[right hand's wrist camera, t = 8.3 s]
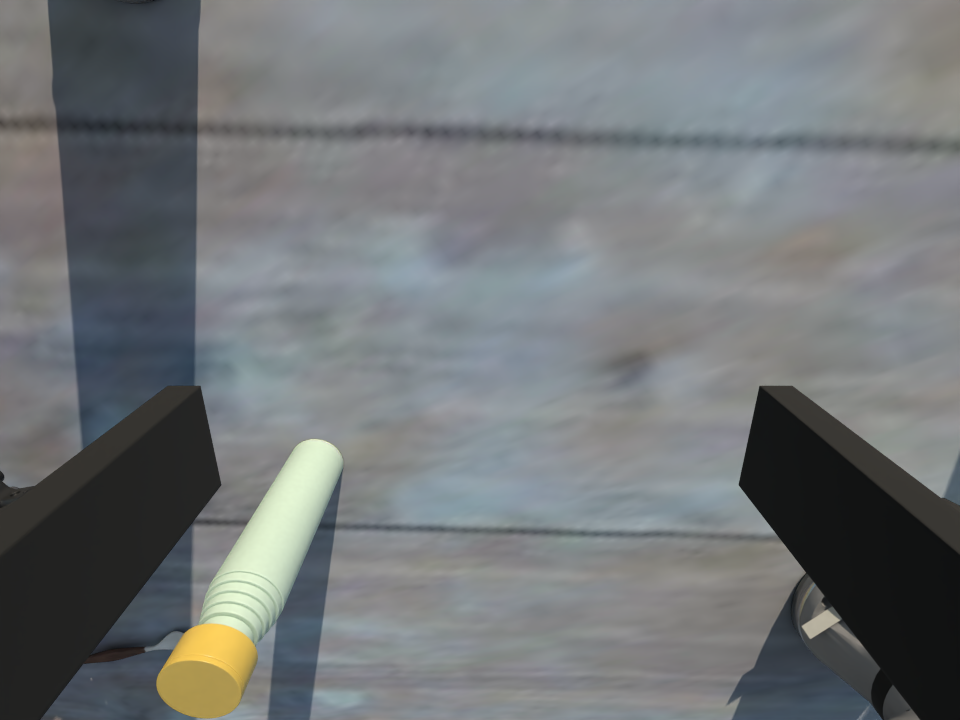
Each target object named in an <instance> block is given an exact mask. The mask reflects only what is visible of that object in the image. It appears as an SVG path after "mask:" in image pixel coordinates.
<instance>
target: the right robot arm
mask: <svg viewBox="0 0 960 720" xmlns="http://www.w3.org/2000/svg"><path fill="white" fill-rule="evenodd" d="M220 486H221V481H220V476H219V472H218V467H217V462H216V457H215V453H214V448H213V443H212V438H211V434H210V429H209V424H208V420H207V415H206V410H205V405H204V401H203V396H202V391H201V386H167V387H166V388H164V389H163V390H162V391H160V392H159V393H158V394H156V395H155V396H154V397H152V398H151V399H150V400H148V401H147V402H146V403H144V404H143V405H142V406H140V407H139V408H138V409H136V410H135V411H134V412H133V413H131V414H130V415H129V416H127V417H126V418H125V419H123V420H122V421H121V422H119V423H118V424H117V425H115V426H114V427H113V428H111V429H110V430H109V431H107V432H106V433H105V434H103V435H102V436H101V437H99V438H98V439H97V440H95V441H94V442H93V443H91V444H90V445H89V446H87V447H86V448H85V449H83V450H82V451H81V452H80V453H78V454H77V455H76V456H74V457H73V458H72V459H70V460H69V461H68V462H66V463H65V464H64V465H62V466H61V467H60V468H58V469H57V470H56V471H54V472H53V473H52V474H50V475H49V476H48V477H46V478H45V479H44V480H42V481H41V482H40V483H38V484H37V485H36V486H34V487H33V488H32V489H31V490H29V491H28V492H27V493H25V494H24V495H23V496H21V497H20V498H19V499H17V500H15V501H13V502H11V503H9V504H8V505H6V506H4V507H2V508H0V720H40V719H41V718H42V717H43V715H44V714H45V713H46V711H47V710H48V709H49V708H50V706H51V705H52V704H53V702H54V701H55V700H56V698H57V697H58V696H59V695H60V693H61V692H62V691H63V689H64V688H65V687H66V685H67V684H68V683H69V682H70V680H71V679H72V678H73V676H74V675H75V674H76V673H77V671H78V670H79V669H80V667H81V666H82V665H83V663H84V662H85V661H86V660H87V658H88V657H89V656H90V654H91V653H92V652H93V651H94V649H95V648H96V647H97V645H98V644H99V643H100V641H101V640H102V639H103V638H104V636H105V635H106V634H107V632H108V631H109V630H110V629H111V627H112V626H113V625H114V623H115V622H116V621H117V619H118V618H119V617H120V616H121V614H122V613H123V612H124V610H125V609H126V608H127V607H128V605H129V604H130V603H131V601H132V600H133V599H134V597H135V596H136V595H137V594H138V592H139V591H140V590H141V588H142V587H143V586H144V585H145V583H146V582H147V581H148V579H149V578H150V577H151V575H152V574H153V573H154V572H155V570H156V569H157V568H158V566H159V565H160V564H161V563H162V561H163V560H164V559H165V557H166V556H167V555H168V553H169V552H170V551H171V550H172V548H173V547H174V546H175V544H176V543H177V542H178V540H179V539H180V538H181V537H182V535H183V534H184V533H185V531H186V530H187V529H188V528H189V526H190V525H191V524H192V522H193V521H194V520H195V518H196V517H197V516H198V515H199V513H200V512H201V511H202V509H203V508H204V507H205V506H206V504H207V503H208V502H209V500H210V499H211V498H212V496H213V495H214V494H215V493H216V491H217V490H218V489H219V487H220ZM739 486H740V487H741V489H742V490H743V491H744V493H745V494H746V495H747V496H748V498H749V499H750V500H751V502H752V503H753V504H754V506H755V507H756V508H757V509H758V511H759V512H760V513H761V515H762V516H763V517H764V518H765V520H766V521H767V522H768V524H769V525H770V526H771V528H772V529H773V530H774V531H775V533H776V534H777V535H778V537H779V538H780V539H781V540H782V542H783V543H784V544H785V546H786V547H787V548H788V550H789V551H790V552H791V553H792V555H793V556H794V557H795V559H796V560H797V561H798V563H799V564H800V565H801V566H802V568H803V569H804V570H805V572H806V573H807V574H806V575H805V576H804V577H803V579H802V580H801V582H800V583H799V585H798V587H797V589H796V591H795V594H794V597H793V600H792V606H791V616H792V621H793V624H794V627H795V629H796V631H797V632H798V634H799V635H800V637H801V639H802V640H803V642H804V643H805V645H806V646H807V647H808V649H809V650H810V651H811V652H812V653H813V654H814V655H815V656H816V657H817V658H818V659H819V660H820V661H821V662H822V663H824V664H825V665H826V666H827V667H828V668H830V669H831V670H832V671H833V672H834V673H835V674H837V675H838V676H839V677H840V678H841V679H843V680H844V681H845V682H846V683H847V684H849V685H850V686H851V687H852V688H853V689H855V690H856V691H857V692H858V693H859V694H861V695H862V696H863V697H864V698H865V699H867V700H868V701H869V702H870V703H871V704H872V706H873V707H874V708H875V710H876V711H877V712H878V714H879V715H880V717H881V718H882V719H883V720H960V506H959V505H957V504H955V503H953V502H951V501H949V500H947V499H945V498H940V497H939V496H937V495H936V494H935V493H933V492H932V491H931V490H929V489H928V488H927V487H926V486H924V485H923V484H922V483H920V482H919V481H918V480H916V479H915V478H914V477H912V476H911V475H910V474H908V473H907V472H906V471H904V470H903V469H902V468H900V467H899V466H898V465H896V464H895V463H894V462H892V461H891V460H890V459H888V458H887V457H886V456H884V455H883V454H882V453H880V452H879V451H878V450H877V449H875V448H874V447H873V446H871V445H870V444H869V443H867V442H866V441H865V440H863V439H862V438H861V437H859V436H858V435H857V434H855V433H854V432H853V431H851V430H850V429H849V428H847V427H846V426H845V425H843V424H842V423H841V422H839V421H838V420H837V419H835V418H834V417H833V416H831V415H830V414H829V413H827V412H826V411H825V410H824V409H822V408H821V407H820V406H818V405H817V404H816V403H814V402H813V401H812V400H810V399H809V398H808V397H806V396H805V395H804V394H802V393H801V392H800V391H798V390H797V389H796V388H794V387H793V386H759V391H758V396H757V401H756V405H755V410H754V415H753V420H752V424H751V429H750V434H749V438H748V443H747V448H746V453H745V457H744V462H743V467H742V472H741V476H740V481H739Z"/></svg>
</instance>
